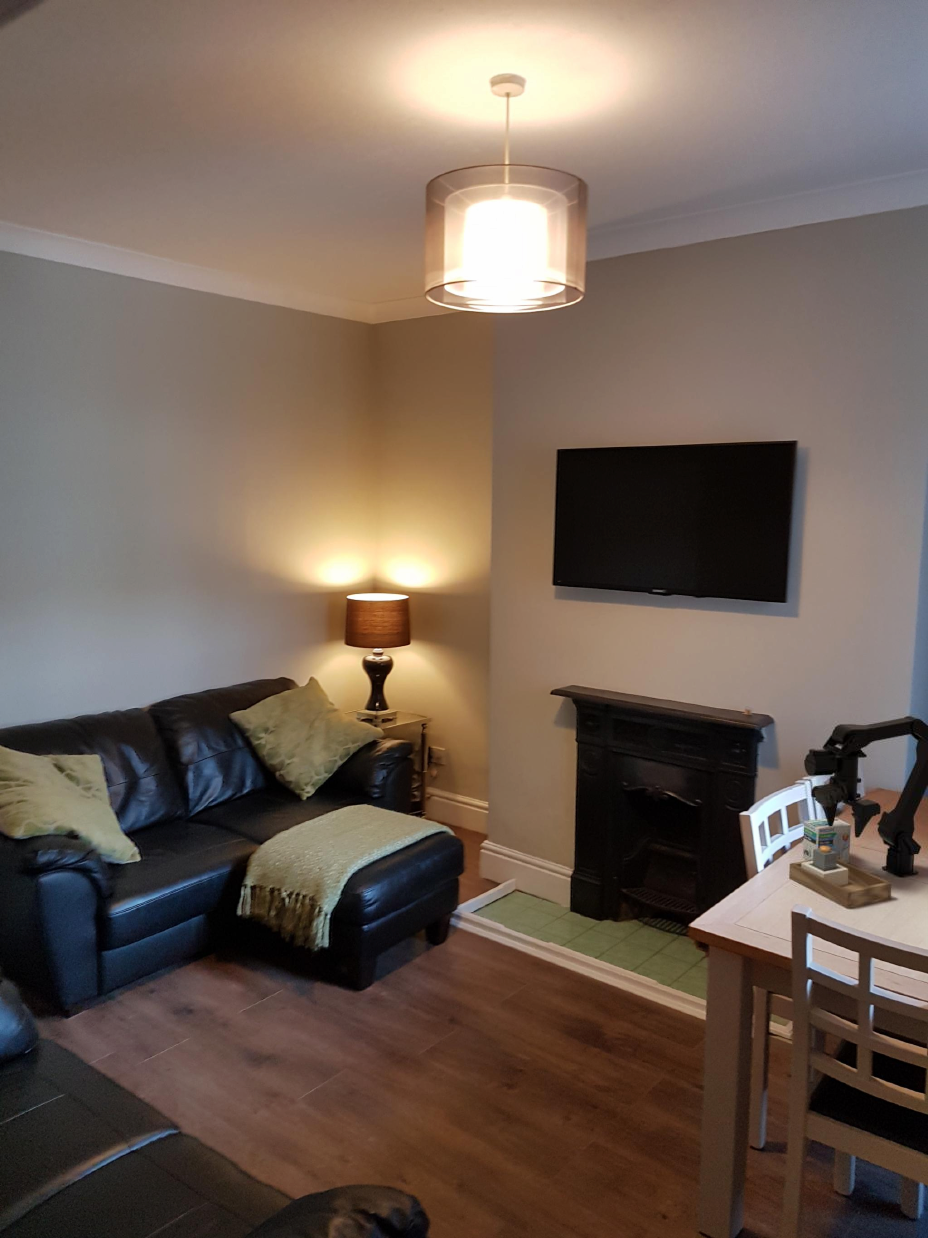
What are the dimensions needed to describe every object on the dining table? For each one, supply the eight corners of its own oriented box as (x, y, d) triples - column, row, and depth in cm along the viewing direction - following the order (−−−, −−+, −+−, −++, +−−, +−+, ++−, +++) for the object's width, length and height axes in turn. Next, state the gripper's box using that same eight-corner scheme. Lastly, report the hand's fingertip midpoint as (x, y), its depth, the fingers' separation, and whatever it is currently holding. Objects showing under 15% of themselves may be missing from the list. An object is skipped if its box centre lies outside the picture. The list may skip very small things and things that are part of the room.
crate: (830, 870, 245) (831, 855, 244) (890, 899, 226) (891, 883, 226) (789, 878, 240) (789, 863, 239) (847, 908, 221) (847, 892, 221)
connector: (824, 877, 239) (825, 843, 238) (835, 882, 235) (837, 848, 234) (812, 879, 237) (813, 846, 236) (823, 885, 234) (824, 851, 233)
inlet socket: (824, 873, 241) (825, 858, 241) (847, 884, 234) (848, 869, 234) (800, 877, 238) (801, 863, 238) (823, 889, 231) (823, 874, 231)
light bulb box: (817, 867, 247) (818, 828, 246) (801, 858, 254) (802, 820, 252) (850, 862, 250) (852, 824, 249) (834, 853, 256) (835, 816, 255)
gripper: (796, 768, 243) (794, 824, 245) (849, 787, 226) (846, 848, 228) (828, 763, 248) (826, 819, 249) (883, 782, 230) (880, 841, 232)
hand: (843, 831), depth 240 cm, fingers open, 9 cm apart
